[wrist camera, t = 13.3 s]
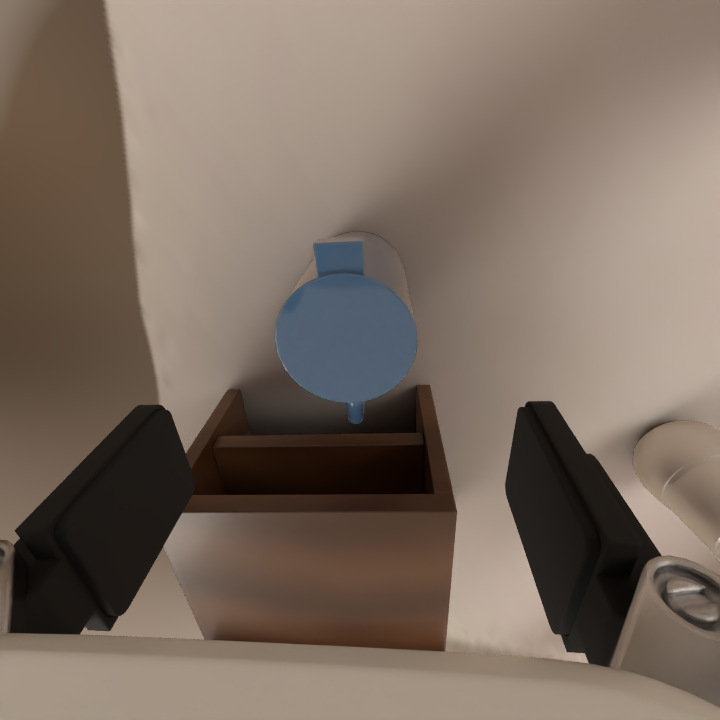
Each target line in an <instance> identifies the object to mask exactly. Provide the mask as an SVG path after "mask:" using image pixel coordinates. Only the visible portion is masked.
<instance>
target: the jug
mask: <svg viewBox="0 0 720 720" xmlns="http://www.w3.org/2000/svg"><path fill="white" fill-rule="evenodd" d="M313 246H314V255H315V257H314V259H313V260H312V262H311V263H310V265H309V266H308V268H307V270H306V271H305V273H304V274H303V276H302V277H301V279H300V280H299V282H298V283H297V285H296V286H295V288H294V289H293V291H292V292H291V294H290V295H289V297H288V299H287V300H286V302H285V303H284V305H283V307H282V309H281V310H280V312H279V315H278V318H277V322H276V327H275V343H276V348H277V352H278V356H279V358H280V361H281V363H282V365H283V366H284V368H285V370H286V371H287V373H288V374H289V375H290V376H291V378H292V379H293V380H294V381H295V382H296V383H297V384H299V385H300V386H301V387H302V388H304V389H305V390H307V391H308V392H310V393H312V394H314V395H316V396H318V397H320V398H323V399H326V400H330V401H334V402H341V403H347V413H348V419H349V421H350V422H351V423H353V424H359V423H361V422H362V421H363V418H364V407H365V401H368V400H371V399H375V398H377V397H379V396H382V395H384V394H385V393H387V392H389V391H390V390H392V389H393V388H394V387H395V386H397V385H398V384H399V383H400V382H401V381H402V380H403V378H404V377H405V376H406V375H407V373H408V372H409V370H410V368H411V366H412V364H413V362H414V359H415V355H416V351H417V342H418V339H417V330H416V325H415V320H414V315H413V310H412V305H411V300H410V296H409V291H408V286H407V281H406V276H405V271H404V267H403V264H402V261H401V259H400V257H399V255H398V253H397V252H396V251H395V249H394V248H393V247H392V246H391V245H390V244H389V243H388V242H386V241H385V240H384V239H382V238H380V237H378V236H376V235H374V234H371V233H367V232H347V233H343V234H340V235H338V236H336V237H334V238H331V239H318V240H316V242H315V243H314V245H313Z"/></svg>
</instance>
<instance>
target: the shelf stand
mask: <svg viewBox="0 0 720 720" xmlns="http://www.w3.org/2000/svg"><path fill="white" fill-rule="evenodd" d="M186 457H187V459H188V462H189V465H190V468H191V470H192V473H193V476H194V479H195V490H194V493H193V495H192V497H191V499H190V500H189V502H188V504H187V506H186V507H185V509H184V511H183V513H182V514H181V516H180V518H179V520H178V521H177V523H176V525H175V527H174V528H173V530H172V532H171V534H170V535H169V537H168V539H167V541H166V543H165V544H164V546H163V548H164V550H165V553H166V555H167V557H168V559H169V561H170V563H171V566H172V568H173V570H174V573H175V575H176V577H177V579H178V581H179V584H180V586H181V588H182V590H183V592H184V595H185V597H186V599H187V601H188V603H189V606H190V608H191V610H192V612H193V615H194V617H195V619H196V621H197V624H198V626H199V628H200V630H201V632H202V635H203V637H204V639H205V640H222V641H244V642H265V643H286V644H307V645H328V646H348V647H367V648H386V649H405V650H424V651H443V652H445V648H446V636H447V624H448V612H449V600H450V589H451V577H452V565H453V553H454V542H455V530H456V518H457V509H456V505H455V500H454V495H453V490H452V486H451V481H450V476H449V472H448V467H447V462H446V458H445V453H444V448H443V444H442V439H441V434H440V430H439V425H438V420H437V416H436V411H435V407H434V402H433V397H432V393H431V388H430V385H417V420H416V433H377V434H314V435H250V432H249V428H248V424H247V420H246V415H245V411H244V407H243V403H242V399H241V395H240V390H227V392H226V393H225V395H224V396H223V398H222V399H221V401H220V402H219V404H218V405H217V407H216V409H215V410H214V412H213V413H212V415H211V416H210V418H209V419H208V421H207V422H206V424H205V425H204V427H203V428H202V430H201V431H200V433H199V434H198V436H197V438H196V439H195V441H194V442H193V444H192V445H191V447H190V448H189V450H188V451H187V453H186Z"/></svg>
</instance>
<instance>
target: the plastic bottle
mask: <svg viewBox="0 0 720 720" xmlns="http://www.w3.org/2000/svg"><path fill="white" fill-rule="evenodd" d="M633 467H634V470H635V472H636V474H637V475H638V477H639V479H640V481H641V483H642V484H643V486H644V487H645V488H646V489H647V490H648V491H649V492H650V493H651V494H652V495H653V496H654V497H655V498H657V499H658V500H659V501H660V502H661V503H662V504H664V505H665V506H666V507H668V508H669V509H670V510H672V511H673V512H674V513H675V514H676V515H677V516H678V517H679V518H680V519H681V520H682V521H683V522H684V523H685V524H686V525H687V526H688V527H689V528H690V529H691V530H692V532H693V533H694V534H695V535H696V536H697V537H698V538H699V539H700V540H701V541H702V542H703V543H704V544H705V545H706V546H707V547H708V548H709V549H710V551H711V552H712V553H713V555H714V556H715V557H716V558H717V560H718V561H720V431H719V430H718V429H716V428H714V427H712V426H710V425H708V424H705V423H702V422H693V421H674V422H669V423H666V424H663V425H660V426H658V427H656V428H654V429H652V430H651V431H649V432H648V433H646V434H645V435H644V436H643V437H642V438H641V439H640V440H639V441H638V443H637V445H636V446H635V449H634V453H633Z"/></svg>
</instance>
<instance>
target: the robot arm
mask: <svg viewBox="0 0 720 720" xmlns="http://www.w3.org/2000/svg"><path fill="white" fill-rule="evenodd" d="M505 489H506V496H507V499H508V502H509V505H510V508H511V511H512V514H513V517H514V520H515V523H516V526H517V529H518V532H519V535H520V538H521V541H522V544H523V547H524V550H525V553H526V556H527V559H528V562H529V565H530V568H531V571H532V574H533V577H534V580H535V583H536V586H537V589H538V592H539V595H540V598H541V601H542V604H543V607H544V610H545V613H546V616H547V619H548V622H549V625H550V627H551V629H552V631H553V633H554V634H561V636H562V639H563V642H564V645H565V648H566V651H567V652H576V653H585V654H586V657H587V660H588V662H589V664H588V663H580V662H571V661H563V660H555V659H547V658H533V657H518V656H504V655H490V654H476V653H462V652H443V651H424V650H405V649H386V648H367V647H348V646H328V645H307V644H286V643H265V642H244V641H222V640H200V639H177V638H152V637H128V636H126V637H125V636H104V635H80V633H81V631H82V630H83V628H84V627H86V628H87V629H88V630H96V631H110V630H111V628H112V627H113V625H114V623H115V622H116V620H117V618H118V616H121V615H122V614H124V613H125V612H126V610H127V609H128V608H129V606H130V604H131V602H132V601H133V599H134V597H135V595H136V593H137V592H138V590H139V588H140V586H141V585H142V583H143V581H144V579H145V578H146V576H147V574H148V572H149V571H150V569H151V567H152V565H153V564H154V562H155V560H156V558H157V557H158V555H159V553H160V551H161V549H162V548H163V546H164V544H165V543H166V541H167V539H168V537H169V535H170V534H171V532H172V530H173V528H174V527H175V525H176V523H177V521H178V520H179V518H180V516H181V514H182V513H183V511H184V509H185V507H186V506H187V504H188V502H189V500H190V499H191V497H192V495H193V493H194V490H195V479H194V476H193V473H192V470H191V468H190V465H189V462H188V459H187V457H186V454H185V451H184V448H183V446H182V443H181V440H180V437H179V435H178V432H177V429H176V426H175V424H174V421H173V418H172V415H171V413H170V412H169V411H168V410H165V408H164V407H163V406H162V405H139V406H137V407H135V408H134V409H133V410H132V411H131V412H130V414H128V416H127V417H125V418H124V419H123V421H122V422H121V423H120V424H119V425H118V426H117V427H116V428H115V429H114V430H113V431H112V432H111V433H110V434H109V435H108V436H107V437H106V438H105V439H104V440H103V441H102V442H101V443H100V444H99V445H98V446H97V447H96V448H95V449H94V450H93V451H92V452H91V453H90V454H89V455H88V456H87V457H86V458H85V459H84V460H83V461H82V462H81V463H80V464H79V465H78V466H77V467H76V468H75V470H73V471H72V473H71V474H70V475H69V476H68V477H67V478H66V479H65V480H64V481H63V482H62V483H61V484H60V485H59V486H58V487H57V488H56V489H55V490H54V491H53V492H52V493H51V494H50V495H49V496H48V497H47V498H46V499H45V500H44V501H43V502H42V503H41V504H40V506H38V507H37V508H36V509H35V510H34V511H33V512H32V513H31V514H30V515H29V516H28V517H27V518H26V520H25V521H23V523H22V524H21V525H20V526H19V527H18V528H17V529H16V530H15V532H16V533H17V534H18V536H19V537H20V539H19V540H18V541H17V542H16V543H15V544H14V545H13V544H11V543H10V542H9V541H7V540H0V720H720V576H718V575H717V574H715V573H714V572H712V571H710V570H709V569H707V568H705V567H704V566H702V565H700V564H697V563H695V562H692V561H690V560H687V559H684V558H679V557H674V556H661V554H660V553H659V551H658V550H657V548H656V547H655V545H654V544H653V542H652V541H651V539H650V538H649V536H648V535H647V533H646V532H645V530H644V529H643V527H642V526H641V524H640V523H639V521H638V520H637V518H636V517H635V515H634V514H633V512H632V511H631V509H630V508H629V506H628V505H627V503H626V502H625V500H624V499H623V497H622V496H621V494H620V493H619V491H618V490H617V488H616V487H615V485H614V484H613V482H612V481H611V479H610V478H609V476H608V475H607V473H606V472H605V470H604V469H603V467H602V466H601V464H600V463H599V461H598V460H597V459H596V458H595V456H593V455H591V454H586V453H585V451H584V450H583V448H582V446H581V445H580V443H579V442H578V440H577V439H576V437H575V436H574V434H573V432H572V431H571V429H570V428H569V426H568V425H567V423H566V421H565V420H564V418H563V417H562V415H561V414H560V412H559V411H558V409H557V407H556V406H555V404H554V403H553V402H551V401H528V402H527V403H526V405H525V407H520V408H519V409H518V412H517V418H516V423H515V429H514V435H513V441H512V447H511V453H510V459H509V465H508V471H507V477H506V483H505Z"/></svg>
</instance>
